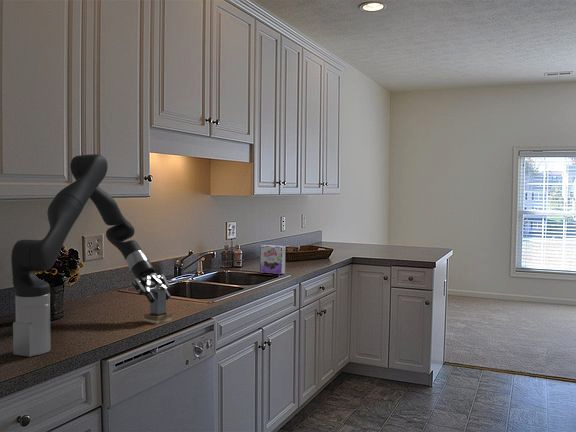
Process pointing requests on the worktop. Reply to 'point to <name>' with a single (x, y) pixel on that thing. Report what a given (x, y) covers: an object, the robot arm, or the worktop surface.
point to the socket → (157, 318)
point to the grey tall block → (158, 303)
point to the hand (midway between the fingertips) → (161, 300)
